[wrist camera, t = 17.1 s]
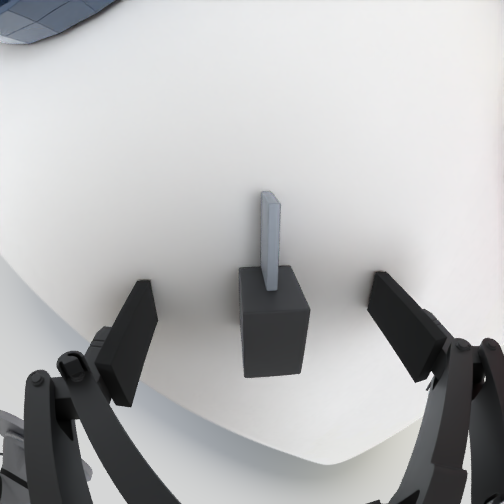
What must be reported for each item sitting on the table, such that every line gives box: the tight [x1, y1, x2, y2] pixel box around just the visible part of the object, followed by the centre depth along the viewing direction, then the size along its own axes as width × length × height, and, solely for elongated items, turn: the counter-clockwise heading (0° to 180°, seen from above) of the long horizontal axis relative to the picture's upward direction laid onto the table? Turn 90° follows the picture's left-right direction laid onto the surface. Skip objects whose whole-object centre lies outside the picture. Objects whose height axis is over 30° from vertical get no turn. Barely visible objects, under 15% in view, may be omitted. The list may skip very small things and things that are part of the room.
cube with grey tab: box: [239, 192, 310, 378], centre depth 13 cm, size 8×3×4 cm, turn 0°
